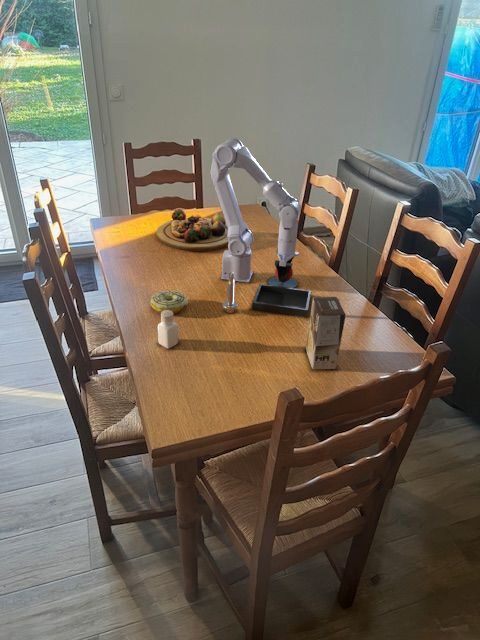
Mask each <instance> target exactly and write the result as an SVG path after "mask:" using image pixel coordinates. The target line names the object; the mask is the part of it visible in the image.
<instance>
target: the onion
mask: <svg viewBox="0 0 480 640" xmlns="http://www.w3.org/2000/svg"><path fill="white" fill-rule="evenodd" d="M293 274H294V270H293V266H292V267H291V268H290V270H289V272H288V275H287V279H286V281H288V280H289V279H290V278H292V277H293ZM274 276H276V277H277V279H278V271H277V268H276V267H275V272H274ZM278 280H279V279H278ZM286 281H285V282H286ZM283 283H284V282H283Z"/></svg>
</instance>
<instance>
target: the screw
mask: <svg viewBox="0 0 480 640" xmlns="http://www.w3.org/2000/svg"><path fill="white" fill-rule="evenodd" d="M233 278H234V273H233V272H230V273H229V280H227V294H226V295H227V297H226V298H227V300H225V301H223V302H222V304H221V306H222V308H223V309H224V310H225V312H226V313H228V314H232V313H233V314H234V312H235V310H237V309H238V308H239V303H238V302H237V301H235V300H234V299H235V298H234V297H235V281H234V279H233Z"/></svg>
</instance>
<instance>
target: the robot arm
mask: <svg viewBox="0 0 480 640" xmlns="http://www.w3.org/2000/svg"><path fill="white" fill-rule="evenodd" d="M211 156H212V160H211V167H210V171H209V172H210V173H209V174H210V177H211V178H210V179H211V180H212V183H213V187H214V190H215V192H216V196H217V198H218V201H219V204H220V207H221V210H222V213H223V217H224V218H225V220H226V223H227V226H228V234H227V237H228V241H229V243H228V246H227V248H228V249H225V250H224V251H223V254H222V260H221V277H220V278H221V280H226V281H228V280H229V273H230V272H233V273H234V278H233V279H234V282H240V283H247V284H249V283H250V281H251V279H252V276H253V274H254V271H252V270H251V269H252V268H251V267H252V252H253V251H252V249H251V246H252V245H253V243H254V240H255V238H254V237H255V236H254V234H253V233H252V231H251V230H250V228H249V226H248V224H247V223H246V222H245V221H244V219H243V217H242V216H243V215H242V212H241V210H240V206H239V203H238V200H237V196H236V194H235V191H234V187H233V185H232V180H231V178H230V174H229V173H230V171H231V169H232V168H235V169H243V170H245V171H246V173H248V174H249V175H250V177H251V178H252V179H254V181H255V182H256V183H257V184H258V185H259V186H260V187H261V188H262V195H263V197H265V199H266V200H267V201H268V202H269V203H270V204H271V205H272V206H273V208H274V209H275V210H276V211H277V212H278V218H279V219H280V221H279V227H278V236H277V237H278V239H277V246H276V247H277V248H276V249H277V250H276V255H277V257H278V260H277V259H276V260H274V266H275V269H276V268H277V271H278V279H279V281H280V282H285V281H286V279H287V275H288V272H289V270H290V268H291V267H292V268H293V266H294V265H293V264H294V263H293V260H294V258H295V257H298V256H299V254H300V253H299V251H297V250H296V247H297V238H298V237H297V236H298V228H299V226H298V225H299V215H300V214H301V210H302V209H301V208H302V206H301V203H300V202H299V200H298V199H296V198H294V196H293V195H290V194H289V193H288V191H287V190H286V189H285V188H284V184H283V183H282V182H280V183H279V181H278V180H273V179H271V178H270V177H269V175H268V174H267V172H266V171H265V170H264V169H263V168H262V167H261V165H260V164H259V162H257V160H256V158H254V156H253V155H252V153H251V152H250V150H249V149H248V147H246V146H245V145H243V143H242V142H241V140H239V139H238V138H235V137H230V138H228V139H226V141H224V142H223V143H219V144H218V146H216V148H215V149H214V151H213V152H212V154H211Z"/></svg>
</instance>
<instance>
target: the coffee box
mask: <svg viewBox="0 0 480 640" xmlns="http://www.w3.org/2000/svg"><path fill="white" fill-rule="evenodd" d="M311 301H312V302H311V308H310V316H309V325H308V333H307V339H306V347H305V351H306V354H307V357H308V361H309V363H310V366H311V369H312V370H335V369H337V364H338V358H339V353H340V348H341V342H342V337H343V331H344V326H345V322H346V316H347V314H346V312H345V311H344V308H343V307H342V304H341V302H340V301H339V299H338V297H337V296H320V297H319V296H314V297H312V300H311Z"/></svg>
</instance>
